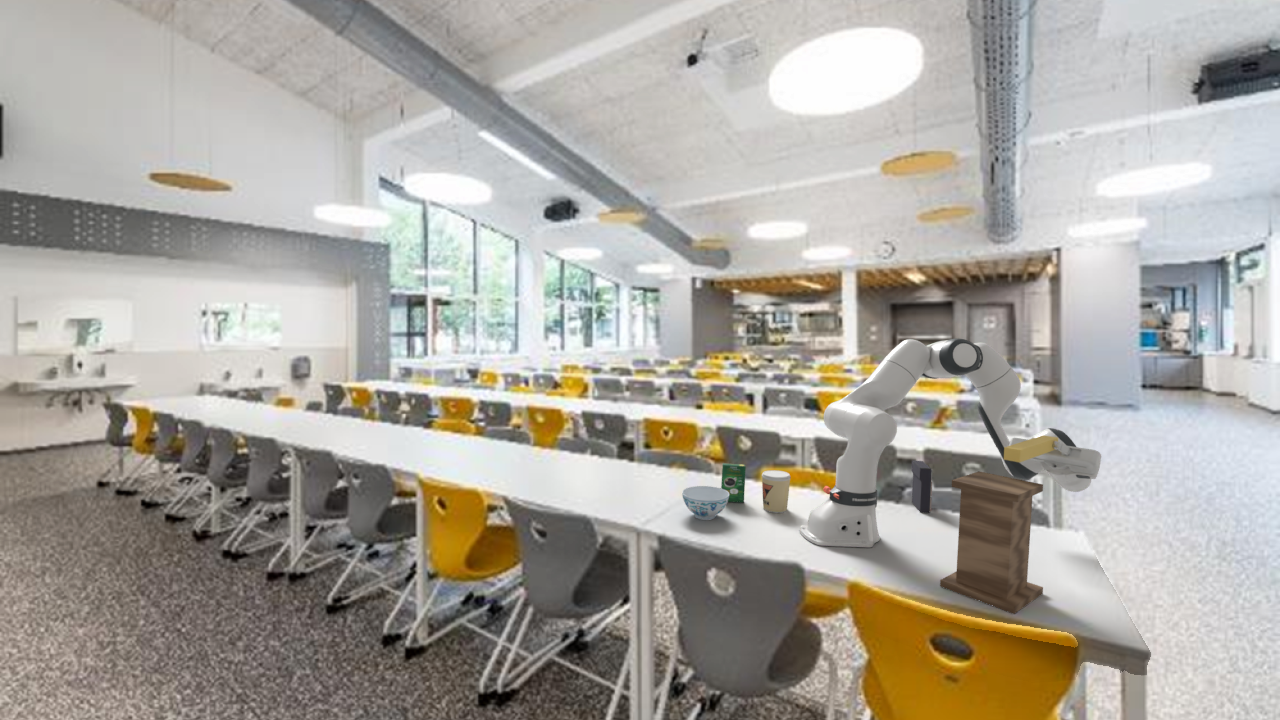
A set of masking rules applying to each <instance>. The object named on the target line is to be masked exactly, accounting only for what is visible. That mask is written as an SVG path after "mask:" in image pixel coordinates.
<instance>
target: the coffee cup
mask: <svg viewBox="0 0 1280 720" xmlns="http://www.w3.org/2000/svg"><path fill="white" fill-rule="evenodd" d="M790 481H791V475H790V473H789V472H787V471H783V470H774V469H773V470H772V469H771V470H765V471H763V472H762V474H761V482H762V483H761V484H762V487H761V488H762V507H763V510H765V511H766V512H769V513H774V514H775V513H776V514H777V513H778V514H779V513H786V512H787V511H788V506H789V505H788V504H789V493H790V484H791V483H790Z"/></svg>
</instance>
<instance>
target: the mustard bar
mask: <svg viewBox="0 0 1280 720" xmlns="http://www.w3.org/2000/svg"><path fill="white" fill-rule="evenodd" d="M1053 441H1058V437H1051V436H1044V435H1043V436H1039V437H1036V438H1033V439H1030V440H1026V441H1023V442H1020V443H1017V444H1013V445H1010V446H1007V447H1004V460H1009V461H1015V462H1022V461H1025V460H1028V459H1031V458H1034V457H1036V456H1039V455H1042V454H1045V453H1048V452H1050V451H1053V450H1056V449H1053V447H1052V444H1053Z"/></svg>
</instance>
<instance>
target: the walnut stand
mask: <svg viewBox="0 0 1280 720" xmlns="http://www.w3.org/2000/svg"><path fill="white" fill-rule="evenodd" d="M951 487H952V488H955V489H958V490H960V500H959V501H960V502H959V503H960V504H959V519H958V520H959V522H958V536H957V538H958V539H957V554H956V555H957V557H956V571H954V572H952V573H950V574H948V575H947V576H945V577H942V578H941V579H940V581H939V582H940V583H939V586H941V588H943V587H944V589H946V588H947V589H946V590H948V589H949V591H951V590H952V591H951V592H954V593H956V592H957V594H959V593H960V595H962V596H964V595H965V597H968V598H969V599H972V598H973V600H975V599H976V601H978V600H980V601H982V602H981V603H983V602H984V603H983V604H986V603H987V604H986V605H989V604H990V605H989V606H991V605H993V606H992V607H994V606H995V607H994V608H996V609H999V608H1000V610H1002V611H1004V612H1007V611H1008V613H1010V614H1013V615H1015V614H1017V613H1018V612H1019V611H1021V610H1022V609H1023V608H1025V607H1026V606H1028V605H1029V604H1031V603H1032V602H1033V601H1034V600H1036V599H1037V598H1039V597H1041V596H1042V595H1043V593H1044V587H1043V586H1040V585H1038V584H1035V583H1032V582H1028V575H1029V574H1028V573H1029V571H1028V570H1029V557H1030V555H1029V554H1030V544H1031V543H1030V541H1031V540H1030V539H1031V526H1032V525H1031V524H1032V510H1033V509H1032V508H1033V496H1035V495H1037V494H1040V493H1042V492H1043V491H1044V484H1041V483H1037V482H1033V481H1029V480H1023V479H1018V478H1014V477H1008V476H1003V475H999V474H994V473H990V472H985V471H981V470H979V471H975V472H972V473H969V474H966V475H964V476H960V477H957V478H954V479H952V480H951ZM980 601H979V602H980Z"/></svg>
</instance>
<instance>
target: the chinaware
mask: <svg viewBox="0 0 1280 720" xmlns="http://www.w3.org/2000/svg"><path fill="white" fill-rule="evenodd" d="M681 495H682V499H683V502H684V505H685V506H686V508H687V509H688V510H689V511H690V512H691V513H693V514H694V517H695V518H696V519H698V520H703V521H704V520H705V521H709V520H715V518H716V517H717V515H719V514H720V513H721V512H723V510H724V509H725V508H726V506H727V504H728V503H729V502H728V499H729V492H728V491H726V490H724V489H721V487H717V486H712V485H711V486H709V485H697V486H696V485H695V486H689V487H686V488H684V489H683V490H682V491H681Z"/></svg>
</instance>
